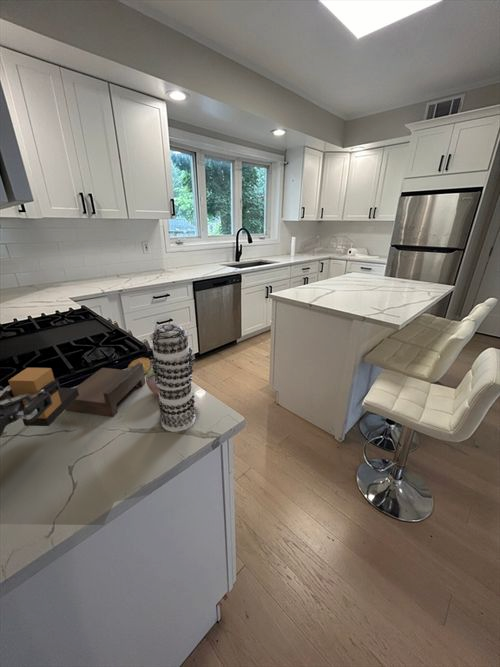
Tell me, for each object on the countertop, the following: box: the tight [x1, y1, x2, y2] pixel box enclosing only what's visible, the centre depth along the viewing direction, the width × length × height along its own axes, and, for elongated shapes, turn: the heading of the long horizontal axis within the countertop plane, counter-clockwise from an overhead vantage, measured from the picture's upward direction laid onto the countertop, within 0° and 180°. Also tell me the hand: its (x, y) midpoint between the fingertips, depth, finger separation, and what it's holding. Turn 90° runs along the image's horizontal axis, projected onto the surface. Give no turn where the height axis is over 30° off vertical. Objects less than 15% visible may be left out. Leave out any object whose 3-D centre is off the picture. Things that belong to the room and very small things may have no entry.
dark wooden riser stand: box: [64, 363, 146, 418], centre depth 78 cm, size 14×16×7 cm
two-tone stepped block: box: [7, 367, 79, 427], centre depth 60 cm, size 11×5×11 cm, turn 0°
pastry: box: [127, 357, 151, 375], centre depth 93 cm, size 9×7×4 cm
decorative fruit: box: [145, 367, 159, 396], centre depth 79 cm, size 9×8×10 cm
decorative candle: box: [149, 324, 197, 433], centre depth 65 cm, size 9×9×25 cm
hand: (44, 382), depth 59 cm, fingers closed on two-tone stepped block, 5 cm apart
